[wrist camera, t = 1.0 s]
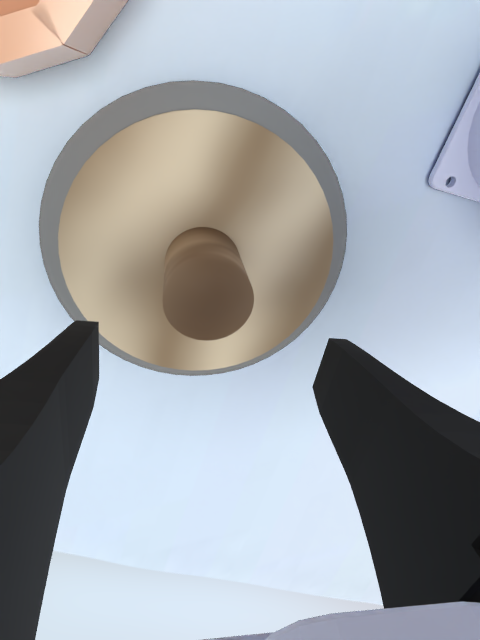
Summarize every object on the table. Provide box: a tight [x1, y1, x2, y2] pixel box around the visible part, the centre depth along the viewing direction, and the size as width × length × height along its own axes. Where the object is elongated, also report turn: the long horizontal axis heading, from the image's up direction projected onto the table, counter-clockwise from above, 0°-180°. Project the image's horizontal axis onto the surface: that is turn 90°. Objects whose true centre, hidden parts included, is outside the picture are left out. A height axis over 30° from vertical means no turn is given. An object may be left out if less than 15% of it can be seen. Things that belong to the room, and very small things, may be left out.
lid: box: [58, 109, 333, 371], centre depth 17 cm, size 13×13×5 cm
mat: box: [39, 81, 347, 376], centre depth 19 cm, size 15×15×1 cm
